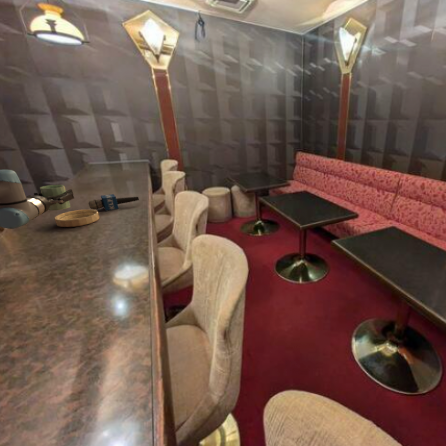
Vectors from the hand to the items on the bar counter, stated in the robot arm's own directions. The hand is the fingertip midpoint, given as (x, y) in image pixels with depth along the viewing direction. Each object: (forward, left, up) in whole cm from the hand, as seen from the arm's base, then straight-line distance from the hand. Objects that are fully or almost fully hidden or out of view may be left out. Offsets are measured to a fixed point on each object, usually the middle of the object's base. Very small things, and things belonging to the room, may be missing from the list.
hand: (60, 192), depth 115 cm
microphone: (+18, +28, -18) cm, 38 cm away
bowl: (+2, +9, -18) cm, 20 cm away
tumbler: (-1, -5, -6) cm, 8 cm away
